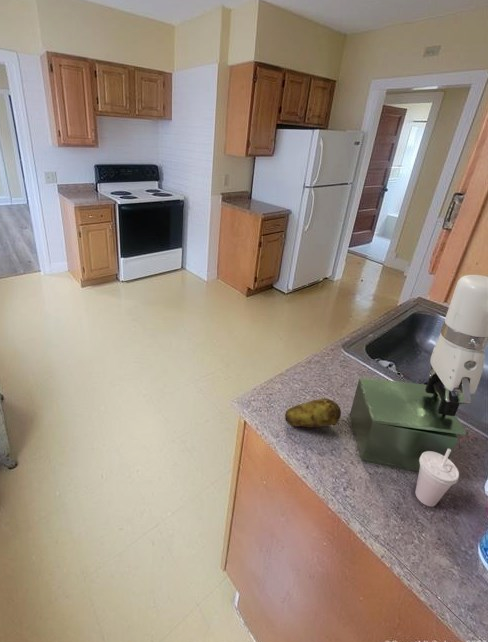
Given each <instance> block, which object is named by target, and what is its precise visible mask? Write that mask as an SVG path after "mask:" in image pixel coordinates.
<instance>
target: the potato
mask: <svg viewBox="0 0 488 642" xmlns="http://www.w3.org/2000/svg"><path fill="white" fill-rule="evenodd" d="M284 414H285V415H284V419H285V420H284V421H285V422H286V423H287V424H288V425H290V426H292V427H296V428H297V427H300V426H301V427H305V428H320V427H326V426H336V425H337V424H338V423H339V421H340V418H341V416H342V410H341V407H340V405H339V404H338V403H336V402H335V401H334V400H332V399H330V398H325V397H324V398H323V397H322V398H318V399H314V400H310V401H308V402H305V403H301V404H297V405H294V406H292V407H290V408H288V409H287V410H286V411H285V413H284Z"/></svg>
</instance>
